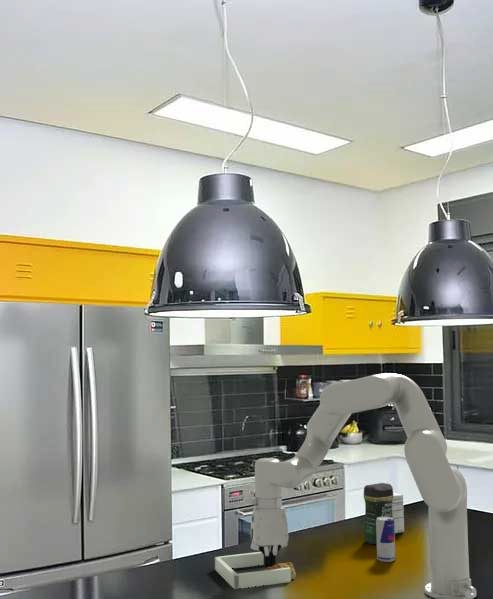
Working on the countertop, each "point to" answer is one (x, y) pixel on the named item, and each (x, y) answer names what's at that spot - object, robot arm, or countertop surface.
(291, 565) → the pastry
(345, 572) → the countertop surface
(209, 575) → the countertop surface
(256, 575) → the c-shaped clip
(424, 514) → the countertop surface
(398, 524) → the supplement box
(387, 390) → the robot arm
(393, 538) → the energy drink
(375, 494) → the coffee jar
